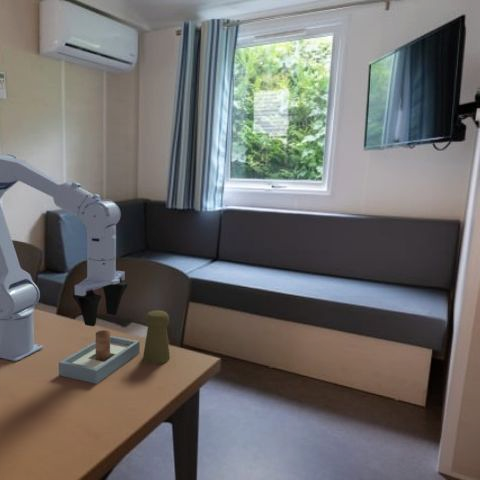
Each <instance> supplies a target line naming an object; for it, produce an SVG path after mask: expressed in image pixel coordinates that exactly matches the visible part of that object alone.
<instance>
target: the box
mask: <svg viewBox="0 0 480 480" xmlns="http://www.w3.org/2000/svg"><path fill="white" fill-rule="evenodd" d="M140 347H141V346H140V340H135V339H130V338H124V337H119V336H114V335H110V359H108V360H107V361H105V362H102V361H98V360H96V340H95V341H94V342H91V343H90V344H88V345H86V346H85V347H83V348H81V349H79V350H78V351H76V352H74V353H72V354H71V355H69V356H67V357H65V358H64V359H63V360H61V361H59V362H58V375H59V376H61V377H64V378H65V377H66V378H70V379H73V380H79V381H83V382H86V383H87V382H88V383H90V384H95V385H97V384H99V383H100V382H102V381H103V380H104V379H105V378H107V377H108V376H110V375H111V374H112V373H113V372H115V371H116V370H117V369H119V368H120V367H122V366H123V365H125V364H126V363H127V362H129V361H130V360H132V359H133V358H135V357H136V356H137V355H138V354H140V353H141V351H140V349H141V348H140Z"/></svg>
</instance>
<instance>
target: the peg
mask: <svg viewBox="0 0 480 480" xmlns="http://www.w3.org/2000/svg"><path fill="white" fill-rule="evenodd" d="M110 336H111V331H109V330H104V329H103V330H99V331H96V332H95V341H96V360H98V361H102V362H105V361H107V360H108V359H110Z"/></svg>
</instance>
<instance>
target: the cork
mask: <svg viewBox="0 0 480 480" xmlns="http://www.w3.org/2000/svg"><path fill="white" fill-rule="evenodd" d="M169 323H170V316H169V314H168V313H167V312H166V311H164V310H159V309H158V310H157V309H156V310H152V311H149V312H148V313H147V314H146V315H145V325H146V326H147V330H146V337H145V342H144V343H145V344H144V350H143V354H142V355H143V357H142V360H143V361H144V362H145V363H147V364H149V365H161V364H165V363H167V362H169V361H170V359H171V356H170V346H169V339H168V338H169V337H168V329H167V327H168V325H169Z"/></svg>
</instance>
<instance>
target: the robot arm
mask: <svg viewBox="0 0 480 480" xmlns="http://www.w3.org/2000/svg"><path fill="white" fill-rule="evenodd" d="M18 182H20V183H23V184H25V185H27V186H29V187H31V188H33V189H35V190H37V191H40V192H41V193H44V194H45V195H47V196H49V197H52V200H53V203H54V204H55V206H56V207H58V208H60V209H62V210H63V211H65V212H67V213H69V214H71V215H72V216H74V217H76V218H78V219H80V220H81V221H82V224H83V225H84V227H85V229H86V236H87V245H86V247H87V248H86V249H87V251H86V252H87V254H86V255H87V257H86V264H87V266H86V267H87V271H86V272H87V273H86V275H87V277H86V278H84V279H83V280H82V281H81V282H79V283H78V284H74V291H73V293H72V298H73V300H75V302H76V303H77V306H78V307H79V309H80V312H81V314H82V318H83V322H84V325H85V326H89V327H94V326H96V325H97V324H96V323H97V315H98V308H99V305H100V301H101V298H102V296H103V295H101V294H97V293H95V292H94V291H95V290H98V289H101V288H102V290H103V292H104V297H105V309H106V310H105V311H106V314H107V315H112V316H116V315H117V314H118V310H119V307H120V304H121V301H122V298H123V295H124V293H125V291H126V289H127V288H128V283H127V282H126V281H125V279H126V278H125V277H126V276H125V275H126V272H125V271H124V270H123V271H121V270H117V268H116V267H117V265H116V263H117V262H116V261H117V260H116V259H117V224H118V223H119V221H120V219H121V217H122V216H121V215H122V213H121V209H120V207H119V206H118V204H117V203H115V202H114V201H113V200H112V199H101V195H100V194H97V193H94V194H93V193H91V192H89V191H88V190H86V189H84V188H82V187H81V186H82V184H81V183H79V182H77V181H72V182H71V181H67V182H64V183H62V182H59V181H58V180H56V179H54V178H53V177H52V176H50V175H48V174H46V173H45V172H43V171H42V170H40V169H38V168H37V167H35V166H33V165H32V164H30V163H29V162H27V160H25V159H22V158H18V156H16V155H13V154H0V200H1V199H2V198H3V196H4V194H5V193H6V192H7V191H8V190H9V189H11V188H12V187H13V186H14V185H16V184H17V183H18ZM40 293H41V292H40V289H39V287H38V286H37V285H36V283H35V282H34V281H33V278H32V276H31V274H30V273H29V272H27V271H26V270H24V269H23V268H22V267H21V265H20V261H19V259H18V255H17V252H16V249H15V247H14V243H13V240H12V237H11V233H10V230H9V227H8V224H7V220H6V218H5V214H4V211H3V207H2V205H1V203H0V359H4V360H8V361H13V362H17V361H19V360H22V359H25V358H26V357H29V355H32V354H34V353H36V352H37V351H40V350H42V349H43V348H44V345H41V344H37V343H35V337H34V336H35V335H34V334H35V332H34V331H35V330H34V329H35V327H34V311H35V305H36V304H37V303H38V302H39V300H40V298H41V294H40Z"/></svg>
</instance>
